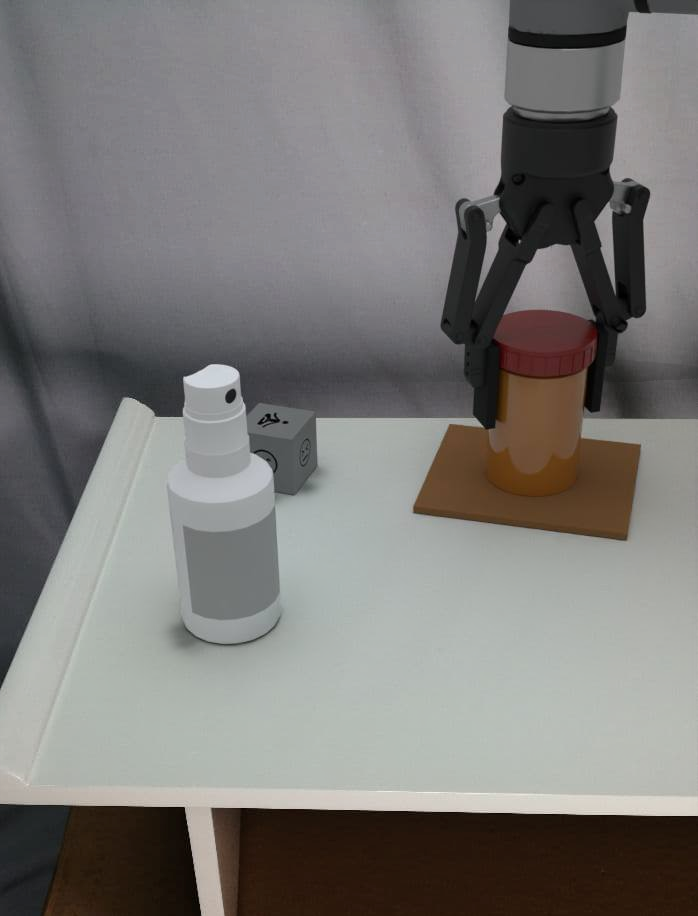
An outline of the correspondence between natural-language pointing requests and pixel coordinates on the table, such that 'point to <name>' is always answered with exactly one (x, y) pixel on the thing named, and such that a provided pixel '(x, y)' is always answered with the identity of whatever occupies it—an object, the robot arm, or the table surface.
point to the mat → (574, 510)
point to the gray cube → (284, 443)
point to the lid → (545, 342)
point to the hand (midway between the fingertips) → (536, 412)
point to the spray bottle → (223, 516)
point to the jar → (536, 433)
